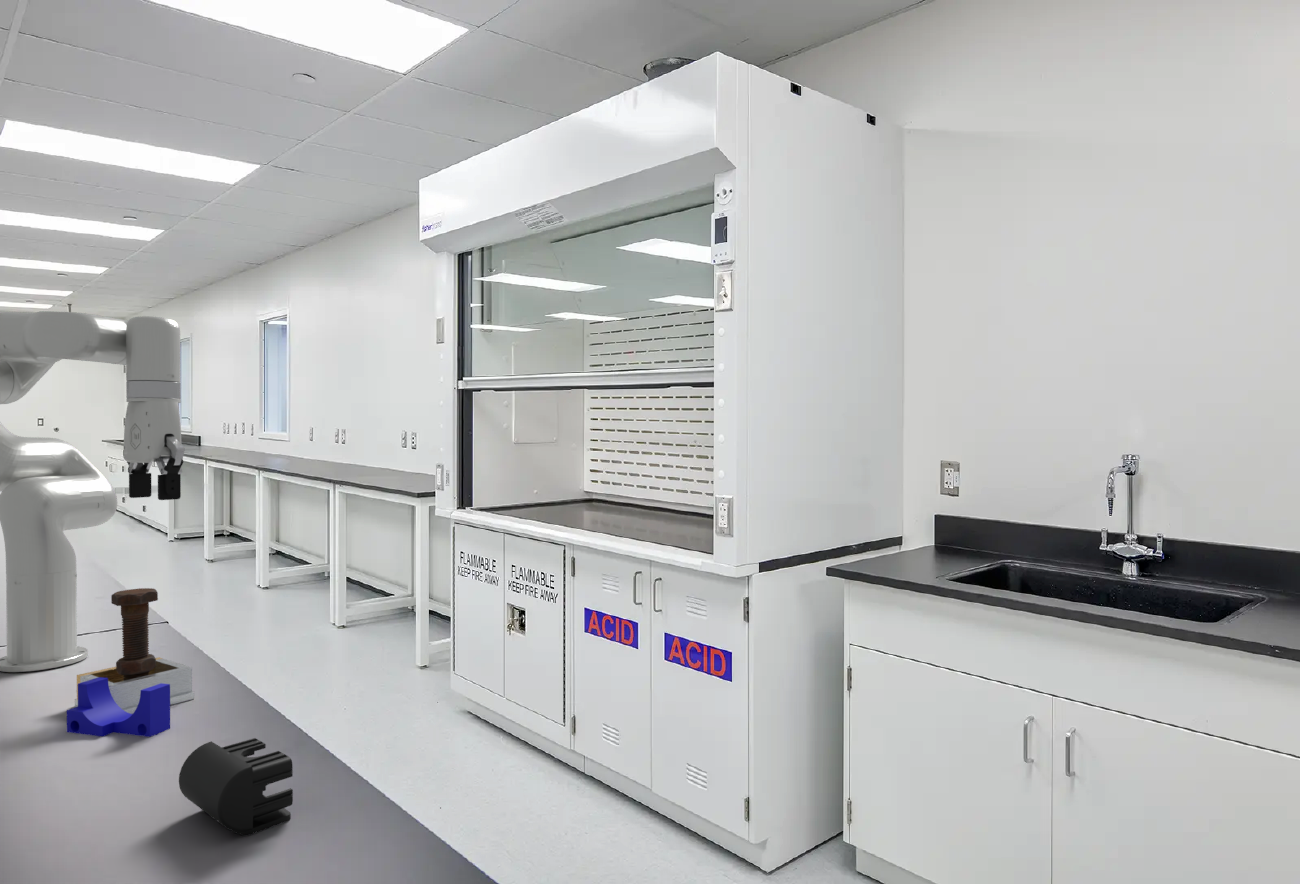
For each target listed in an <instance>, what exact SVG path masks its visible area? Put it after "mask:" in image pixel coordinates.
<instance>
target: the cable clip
mask: <svg viewBox="0 0 1300 884" xmlns="http://www.w3.org/2000/svg"><path fill="white" fill-rule="evenodd" d="M170 729H171V705H170V684H163V683H160V684H158V685H155V686H152V687H149V688H146V689H143V690H141V694H140V700H139V704H138V706H137V708H136V710H135V712H134V713H133V714H130V713H127V712H125V711H124V710H122V709H121V708H120V707H119V706H118V705H117V704H116V702H115V701H114V699H113V697H112V695H111V693H110V689H109V685H108V678H103V677H98V678H95V679H92V680H88V681H85V682H82V683H78V707H76V706H74V707H72V708H70V709H66V733H69V734H70V733H71V734H77V735H79V734H81V735H86V736H94V737H95V736H96V737H102V738H103V737H105V736H108V735H110V734H113V733H115V734H123V735H131V736H137V737H138V736H139V737H147V738H150V737H153V736H156V735H158V734H161V733H163V732H166V731H168V730H170Z"/></svg>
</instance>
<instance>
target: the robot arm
mask: <svg viewBox="0 0 1300 884" xmlns="http://www.w3.org/2000/svg"><path fill="white" fill-rule="evenodd" d="M61 360H73V361H80V362H81V361H82V362H83V361H84V362H94V363H104V364H105V363H106V364H113V365H120V366H121V365H122V366H126V368H125V369H126V374H125V375H126V377H125V379H126V383H125V386H126V387H125V388H126V392H125V393H126V395H125V396H126V401H125V402H127V405H126V411H125V418H124V430H123V431H124V432H123V452H122V453H123V460H125V462H126V463H127V465H128V466H127V472H128V496H129V498H131V499H137V498H139V499H140V498H151V496H152V472H150V469H151V467H152V464H153V463H155V464H156V465H157V469H158V470H159V473H160V474H158V475H157V500H159V501H169V500H173V501H174V500H180V499H181V496H182V494H181V493H182V492H181V491H182V490H181V484H182V483H181V479H182V478H181V474H182V473H183V469H182V466H183V463H184V458H183V457H184V455H185V450H186V449H185V446H184V445H183V444H182V425H181V416H180V407H179V404H181V402H182V401H181V398H182V396H181V389H182V387H181V386H182V385H181V383H182V382H181V327H180V325H179V323H178V322H176V320H174V319H171V318H168V317H163V316H162V317H161V316H146V315H143V316H134V317H131V318H129V319H128V320H127V319H122V318H116V317H110V316H104V315H99V314H91V313H86V312H85V313H84V312H74V311H49V310H48V311H44V310H43V311H37V312H27V311H26V312H24V311H23V312H21V311H0V405H8V404H12V403H15V402H18V401H19V400H20V399H22V398H23V397H25V396H26V395H27V393H29V392H30V391H31V390H32V388H33V387H34V386H35V385H36V384H37V383H38V382H39V381H40V380H42V378H43V377H44V376H45V375H46V374H47V373H48V372H49V370H50V369H52V367H53V366H54V365H55V363H56V362H57V363H58V362H60V361H61ZM117 509H118V497H117V493H116V491H115V489H114V486H113V485H112V483H111V482H110V481H109V479H107V478H106V476H105V475H104V474H103V473H102V472H101V471H100V470H98V468H97V467H96V466H95V465H94V464H93V463H92V462H91V461H90V460H89V459H88V458H87V457H86V456H85V455H84V454H83V453H82V452H81V451H80V450H79V449H77V447H75V446H74V445H73V444H71V443H69V442H68V441H65V440H63V439H59V438H55V437H54V438H53V437H39V436H37V437H31V436H30V437H29V436H21V435H16V434H14V433H13V432H11V431H10V430H9V429H8V428H7V427H6V426H4V424H3V423H2V422H1V421H0V525H1V530H2V534H3V541H4V550H5V551H4V552H5V578H6V579H5V581H6V582H5V584H6V586H5V587H6V588H5V589H6V590H5V591H6V593H5V594H6V595H5V596H6V601H5V604H6V611H5V612H6V618H5V619H6V655H5V656H2V657H0V672H2V673H3V672H6V673H25V672H26V673H27V672H36V671H43V670H49V669H54V668H55V669H56V668H59V667H61V668H62V667H65V666H69V665H72V664H75V663H78V662H81V661H83V660H85V659H86V658H87V657H88V656H89V650H88V648H86V647H83V646H78V640H77V639H78V630H77V629H78V627H77V626H78V625H77V624H78V623H77V622H78V621H77V617H78V616H77V615H78V613H77V611H78V610H77V609H78V605H77V602H78V597H77V596H78V595H77V594H78V593H77V584H78V583H77V582H78V581H77V575H78V574H77V556H76V552H75V549H74V547H73V546H72V544H71V542H70V541H69V539H68V537H67V536H66V535H65V532H64V531H69V530H71V531H72V530H78V529H85V528H86V529H88V528H93V527H98V526H100V525H103V524H105V523H106V522H108V521H110V519H112V518H113V516H114V515H115V514H116V511H117Z"/></svg>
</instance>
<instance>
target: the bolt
mask: <svg viewBox="0 0 1300 884" xmlns="http://www.w3.org/2000/svg"><path fill="white" fill-rule="evenodd" d="M158 594H159V593H158V591H157V590H156V588H152V587H151V588H149V587H147V588H146V587H144V588H143V587H142V588H140V587H139V588H134V589H133V588H132V589H125V590H123V589H122V590H119V591H116V592H114V593H112V594H111V595H110V596H111V597H110V598H111V601H110V602H111V604H112V605H114V606H116V607H120V615H121V623H122V624H121V626H122V627H121V628H122V629H121V630H122V631H121V632H122V634H121V635H122V636H121V637H122V638H121V640H122V645H121V647H122V657H121V658H119V659H118V660H117V661H116V662H115V667H116V670H117V672H118V673H119V674H120V675H124V676H123V677H124V678H123V679H124V681H125V680H130V679H134V678H138V677H143V676H147V675H149V671H151V670H152V669H154V668H155V667H156V658H157V657H155V655H154V654H152V653H150V652H149V651H150V650H149V649H150V648H149V647H150V645H149V644H150V643H149V638H150V637H149V633H150V632H149V612H150V604H149V603H151V602H156V601H158V600H159V598H158V596H159V595H158Z"/></svg>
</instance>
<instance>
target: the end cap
mask: <svg viewBox="0 0 1300 884" xmlns="http://www.w3.org/2000/svg"><path fill="white" fill-rule="evenodd" d="M266 746H267V744H266V743H265V742H263V741H261V740H259V739H258V738H256V737H254V738H249V739H246V740H243V741H239V742H235V743H232V744H228V745H225V746H222V747H221V746H220V745H219V744H216V743H215V742H214V741H208V742H206V743H203V744H202V745H199V746H198V747H197V748H196V749H195V750H193V751H192V752H191V753H190V754H189V755H188V756H187V758H186V759H185V761H184V762H183V764H182V766H181V769H180V771H179V776H178V784H179V789H180V792H181V794H182V795H183V796H184V797H185V798H186V799H187V800H188V801H190V802H192V803H193V804H194V805H195V806H196V807H198V808H199V809H201V810H202V811H203V812H205V813H206V814H207V815H208V816H210V817H211V818H213V819H214V820H215V821H217V822H218V823H219V824H221V825H222V826H223V827H224V828H226V829H227V830H228V831H229V830H230V831H232V832H233V833H235V834H238V835H241V836H244V837H247V836H251V835H255V834H257V833H260V832H263V831H265V830H268V829H271V828H273V827H276V826H279V825H281V824H284V823H287V822H289V821H290V820H291V819H292V818H291V811H289V810H288V809H286V808H287V807H291V806H292V805H293V801H294V797H293V795H294V793H293V792H294V791H293V788H288V789H284V790H282V791H278V792H276V793H273V794H269V795H267V796H266V795H264V792H266V790H267V786H268V785H272V784H273V783H276V782H277V783H278V782H279V781H283V780H286V779H289V778H292V777H294V776H293V773H294V771H293V769H294V768H293V767H294V766H293V760H292V758H291V757H290V756H288V755H287V754H285V753H283V752H281V751H279V750H276V751H273V752H269V753H266V754H263V755H259V756H254V755H255V752H257V751H261V750H264V749H266Z"/></svg>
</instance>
